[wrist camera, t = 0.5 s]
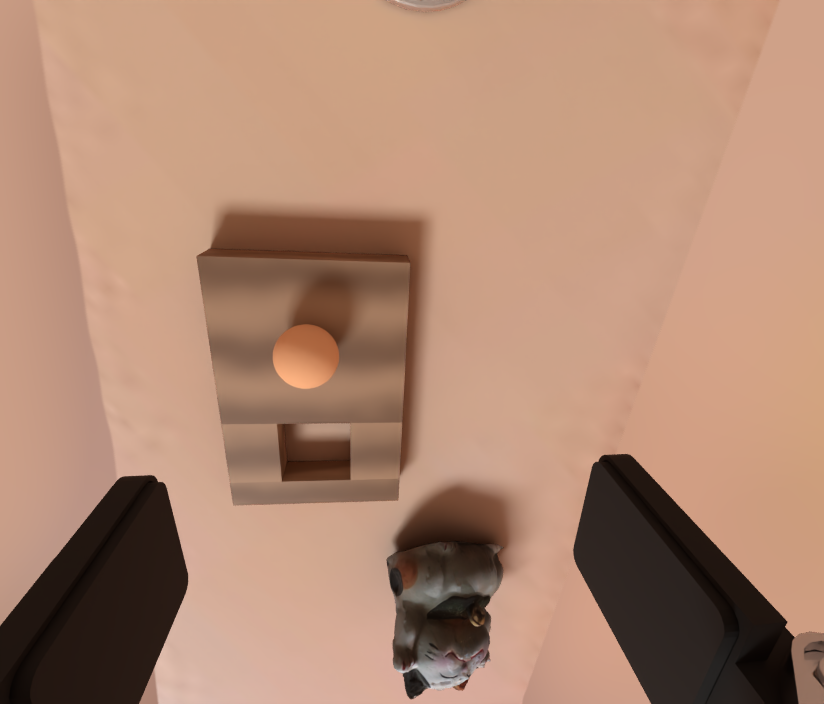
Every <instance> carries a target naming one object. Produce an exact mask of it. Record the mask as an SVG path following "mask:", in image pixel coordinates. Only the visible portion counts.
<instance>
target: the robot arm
mask: <svg viewBox="0 0 824 704" xmlns="http://www.w3.org/2000/svg"><path fill="white" fill-rule="evenodd" d="M386 1H388V2H389V3H392V4H394V5H397V6H399V7H402V8H404V9H407V10H413V11H420V12H431V11H441V10H445V9H448V8H451V7H454V6H457V5H459V4H460V3H462V2H464V1H465V0H386ZM573 552H574V559H575V562H576V565H577V567H578V569H579V570H580V572H581V574H582V576H583V578H584V580H585V582H586V583H587V585H588V587H589V589H590V591H591V593H592V594H593V596H594V598H595V600H596V602H597V604H598V606H599V608H600V609H601V611H602V613H603V615H604V617H605V619H606V621H607V622H608V624H609V626H610V628H611V630H612V632H613V634H614V635H615V637H616V639H617V641H618V643H619V645H620V647H621V648H622V650H623V652H624V654H625V656H626V658H627V659H628V661H629V663H630V665H631V667H632V669H633V671H634V673H635V674H636V676H637V678H638V680H639V682H640V684H641V686H642V687H643V689H644V691H645V693H646V695H647V697H648V698H649V700H650V702H651V704H824V633H817V632H806V633H801V634H799V635H797V636H796V637H794V636H793V635H792V634H791V633H790V632H789V631H788V630H787V629H786V628H785V626H786V624H787V621H786V620H785V619H784V618H783V617H782V615H780V613H779V612H778V611H777V610H776V609H775V608H774V607H773V606H772V605H771V604H770V603H769V602H768V601H767V599H766V598H765V597H764V596H763V595H762V594H761V593H760V592H759V591H758V590H757V589H756V588H755V587H754V586H753V585H752V584H751V582H750V581H749V580H748V579H747V578H746V577H745V576H744V575H743V574H742V573H741V572H740V571H739V570H738V569H737V567H736V566H735V565H734V564H733V563H732V562H731V561H730V560H729V559H728V558H727V557H726V556H725V555H724V554H723V553H722V552H721V550H720V549H719V548H718V547H717V546H716V545H715V544H714V543H713V542H712V541H711V540H710V539H709V538H708V537H707V536H706V535H705V533H703V531H702V530H701V529H700V528H699V527H698V526H697V525H696V524H695V523H694V522H693V521H692V520H691V519H690V517H689V516H688V515H687V514H686V513H685V512H684V511H683V510H682V509H681V508H680V507H679V506H678V505H677V504H676V502H675V501H674V500H673V499H672V498H671V497H670V496H669V495H668V494H667V493H666V492H665V491H664V490H663V489H662V488H661V486H660V485H659V484H658V483H657V482H656V481H655V480H654V479H653V478H652V477H651V476H650V475H649V474H648V473H647V472H646V471H645V470H644V468H642V466H641V465H640V464H639V463H638V462H637V461H636V460H635V459H634V458H633V457H632V456H631V455H628V454H617V455H603V456H601V458H600V459H599V462H595V463H594V464H593V466H592V470H591V474H590V479H589V483H588V487H587V492H586V496H585V500H584V505H583V509H582V513H581V518H580V522H579V527H578V531H577V535H576V540H575V544H574V550H573ZM187 586H188V572H187V568H186V564H185V560H184V556H183V552H182V548H181V544H180V540H179V536H178V532H177V528H176V524H175V520H174V516H173V512H172V508H171V504H170V500H169V496H168V492H167V488H166V485H165V484H164V483H163V482H158V481H157V479H156V477H155V476H152V475H147V476H125V477H121V478H119V479H118V480H117V481H116V482H115V484H114V485H113V486H112V487H111V489H110V490H109V491H108V493H107V494H106V495H105V496H104V498H103V499H102V500H101V501H100V503H99V504H98V505H97V506H96V508H95V509H94V510H93V511H92V513H91V514H90V515H89V516H88V518H87V519H86V520H85V521H84V523H83V524H82V525H81V526H80V528H79V529H78V530H77V531H76V533H75V534H74V535H73V536H72V538H71V539H70V540H69V541H68V543H67V544H66V545H65V547H64V548H63V549H62V550H61V552H60V553H59V554H58V555H57V556H56V557H55V558H54V560H53V561H52V562H51V563H50V564H49V566H48V567H47V568H46V569H45V571H44V572H43V573H42V574H41V576H40V577H39V578H38V579H37V581H36V582H35V583H34V585H33V586H32V587H31V588H30V589H29V591H28V592H27V593H26V594H25V596H24V597H23V598H22V599H21V601H20V602H19V603H18V605H17V606H16V607H15V608H14V609H13V611H12V612H11V613H10V614H9V616H8V617H7V618H6V619H5V621H4V622H3V623H2V624H1V626H0V704H139V702H140V700H141V697H142V695H143V693H144V691H145V688H146V686H147V683H148V681H149V679H150V676H151V674H152V672H153V669H154V667H155V665H156V662H157V660H158V657H159V655H160V653H161V650H162V648H163V646H164V643H165V641H166V638H167V636H168V634H169V631H170V629H171V627H172V624H173V622H174V620H175V617H176V615H177V612H178V610H179V608H180V605H181V603H182V601H183V598H184V596H185V593H186V590H187Z"/></svg>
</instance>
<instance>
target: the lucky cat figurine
mask: <svg viewBox="0 0 824 704" xmlns="http://www.w3.org/2000/svg"><path fill="white" fill-rule="evenodd" d="M503 548H504V547H502V546H500V545H498V544H473V543H467V542H460V541H453V542H439V541H438V542H437V543H430V544H426V545H423V546H419V547H416V548H413V549H410V550H407V551H404V552H397V553H394V554H393V555H391V556H390V557H388V558H387V566H388V574H389V580H390V585H391V589H392V592H393V594H394V598H395V603H396V613H397V615H396V621H395V631H394V634H395V636H394V639H393V653H394V657H393V665H394V668H395V669H396V670H397V671H398V672H401V673H402V674H403V677H404V682H405V689H406V693H407V696H408V697H409V698H410V699H414V698H415V697H416V696H419V695H420V694H422V692H423V691H424V690H425V689H428V688H430V689H436V690H444V689H445V688H451V687H453V688H455V689H457V690H462V691H463V690H464V688H465V686H466V684H467V683H468V679H469V677H470V676H471V674H472V673H473V672H474V670H475V669H476V668H479V667H484V666H485V663H486V662H487V661H490V659H489V656H490V655H489V651H488V648H489V644H490V637H489V632H490V628H491V626H490V623H491V616H490V615H489V613H488V612H487V611H486V610H485V607H486V606H487V605H488V603H489V602H490V598H491V597H492V596H493V594H494V593H495V592H496V591H497V590H498V588H499V586H500V584H501V581H502V577H503V567H502V565H501V563H500V561H499V560H498V556H497V553H498V552H499V551H500V549H503ZM484 668H485V667H484Z"/></svg>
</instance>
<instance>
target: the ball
mask: <svg viewBox="0 0 824 704" xmlns="http://www.w3.org/2000/svg"><path fill="white" fill-rule="evenodd" d="M338 363H339V350H338V347H337V344H336V342H335V340H334V339H333V337H332V336H331V335H330V334H329V333H328V332H327V331H326V330H324V329H322V328H320V327H318V326H315V325H309V324H303V325H297V326H294V327H292V328H290V329H288V330H286V331H285V332H284V333H283V334H282V335H281V336H280V337H279V339H278V340H277V342H276V344H275V346H274V350H273V364H274V367H275V370H276V372H277V373H278V375H279V376H280V377H281V378H282V379H283V380H284V381H285V382H286V383H288V384H289V385H291V386H293V387H296V388H301V389H310V388H315V387H318V386H320V385H322V384H324V383H326V382H327V381H328V380H329V379H330V378H331V377H332V376H333V374H334V373H335V371H336V369H337V366H338Z"/></svg>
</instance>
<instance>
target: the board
mask: <svg viewBox="0 0 824 704" xmlns="http://www.w3.org/2000/svg"><path fill="white" fill-rule="evenodd" d="M197 263H198V270H199V277H200V283H201V290H202V297H203V304H204V311H205V317H206V324H207V331H208V338H209V344H210V351H211V358H212V365H213V371H214V378H215V385H216V392H217V399H218V405H219V412H220V419H221V426H222V432H223V439H224V446H225V453H226V460H227V466H228V473H229V480H230V487H231V493H232V500H233V506H234V505H266V504H299V503H331V502H364V501H396V500H398V496H399V476H400V457H401V438H402V418H403V399H404V379H405V360H406V340H407V321H408V301H409V282H410V261H409V259H408V256H407V255H380V254H350V253H321V252H291V251H262V250H232V249H208V250H207V251H205V252H203V253H201V254H199V255H198V256H197ZM303 324H309V325H315V326H318V327H320V328H322V329H324V330H326V331H327V332H328V333H329V334H330V335H331V336H332V337H333V339H334V340H335V342H336V344H337V347H338V350H339V363H338V366H337V369H336V371H335V373H334V374H333V376H332V377H331V378H330V379H329V380H328V381H327V382H326V383H324V384H322V385H320V386H318V387H315V388H310V389H301V388H296V387H293V386H291V385H289V384H288V383H286V382H285V381H284V380H283V379H282V378H281V377H280V376H279V375H278V373H277V372H276V370H275V367H274V364H273V350H274V346H275V344H276V342H277V340H278V339H279V337H280V336H281V335H282V334H283V333H284V332H285V331H286V330H288V329H290V328H292V327H294V326H297V325H303ZM309 423H350V459H351V460H345V461H295V462H287V455H286V442H285V429H284V424H309Z"/></svg>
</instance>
